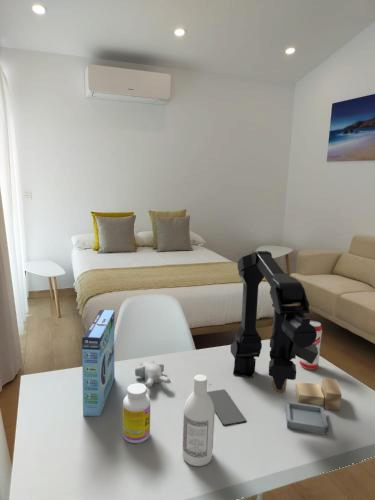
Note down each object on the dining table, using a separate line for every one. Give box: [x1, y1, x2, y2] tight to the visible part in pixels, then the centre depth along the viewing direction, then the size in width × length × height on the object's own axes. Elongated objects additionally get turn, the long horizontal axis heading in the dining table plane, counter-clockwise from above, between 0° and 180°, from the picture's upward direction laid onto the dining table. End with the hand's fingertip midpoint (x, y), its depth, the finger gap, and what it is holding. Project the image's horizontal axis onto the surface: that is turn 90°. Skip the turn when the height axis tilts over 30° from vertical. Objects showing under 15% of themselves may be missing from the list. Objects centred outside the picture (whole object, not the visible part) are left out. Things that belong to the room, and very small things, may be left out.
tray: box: [285, 400, 329, 436], centre depth 98 cm, size 10×9×2 cm
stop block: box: [320, 377, 343, 411], centre depth 107 cm, size 4×8×5 cm, turn 168°
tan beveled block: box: [294, 381, 324, 407], centre depth 109 cm, size 7×7×3 cm
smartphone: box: [207, 389, 247, 427], centre depth 103 cm, size 7×1×15 cm
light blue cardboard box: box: [81, 309, 116, 417], centre depth 104 cm, size 20×5×23 cm, turn 0°
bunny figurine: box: [134, 360, 172, 388], centre depth 115 cm, size 10×5×15 cm
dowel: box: [271, 378, 288, 394], centre depth 94 cm, size 4×4×6 cm
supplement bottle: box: [122, 382, 151, 444], centre depth 89 cm, size 7×7×13 cm
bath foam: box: [182, 374, 216, 467], centre depth 82 cm, size 7×7×20 cm
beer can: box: [299, 319, 323, 371], centre depth 126 cm, size 6×6×16 cm
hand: (279, 385), depth 95 cm, fingers closed on dowel, 4 cm apart
